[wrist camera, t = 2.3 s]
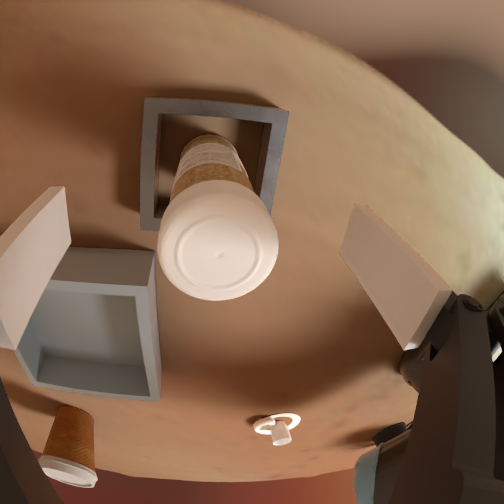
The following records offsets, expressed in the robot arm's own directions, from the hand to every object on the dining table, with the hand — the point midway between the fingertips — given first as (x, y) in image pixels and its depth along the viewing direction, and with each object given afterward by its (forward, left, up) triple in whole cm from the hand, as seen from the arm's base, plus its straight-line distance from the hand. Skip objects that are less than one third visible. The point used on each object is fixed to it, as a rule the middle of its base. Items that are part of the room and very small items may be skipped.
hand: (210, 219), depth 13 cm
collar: (0, 0, -11) cm, 11 cm away
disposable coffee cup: (+20, +40, -11) cm, 46 cm away
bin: (+12, +16, -11) cm, 23 cm away
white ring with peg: (-14, +38, -12) cm, 42 cm away
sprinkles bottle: (0, 0, -11) cm, 11 cm away
